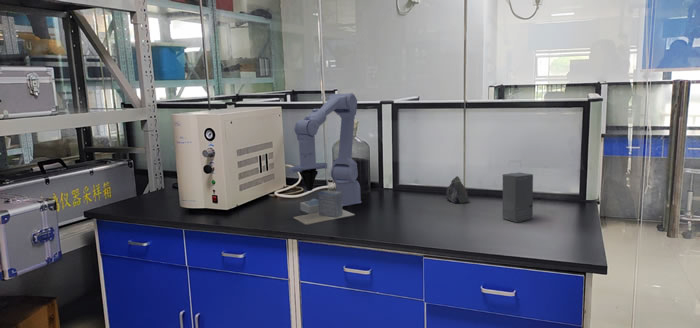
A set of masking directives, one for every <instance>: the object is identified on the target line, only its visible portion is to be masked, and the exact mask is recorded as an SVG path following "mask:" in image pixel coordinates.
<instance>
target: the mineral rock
mask: <svg viewBox="0 0 700 328" xmlns="http://www.w3.org/2000/svg"><path fill="white" fill-rule="evenodd" d="M445 195H446V198H447V199H448V200H449V201H451V202H452V203H454V204H466V203H468V202H469V197H468V195H469V194H468V192H467V189H466V187H465V185H464V184H463V182H462V181H461V179H460V176H455V177H454V178H453V179H452V180H451V181H450V184H449V185H448V187H447V188H446V193H445Z"/></svg>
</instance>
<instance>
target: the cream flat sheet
mask: <svg viewBox="0 0 700 328" xmlns="http://www.w3.org/2000/svg"><path fill="white" fill-rule="evenodd" d="M342 210H343V214H342V215H340V216H338V217H332V216H324V215H319V212H318V213H313V214H308V213H306V214H303V215H297V216H293V217H292V219H294V220H296V221H297V222H299V223H301V224H303V225H305V226H307V225H308V226H309V225H312V224H317V223H323V222H327V221H334V220H337V219H338V220H339V219H342V218H348V217H349V218H350V217H354V216H355V215H356V214H355V213H352V212H350V211H348V210H345V209H343V208H342Z"/></svg>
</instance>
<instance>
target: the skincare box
mask: <svg viewBox="0 0 700 328" xmlns="http://www.w3.org/2000/svg"><path fill="white" fill-rule="evenodd" d="M533 190H534V174H532V173H527V172H526V173H525V172H524V173H523V172H511V173H503V174H502V219H503V220H506V221H511V222H514V223H516V224H517V223H520V222H526V221H528V220H533V213H534V212H533V205H534V202H533V197H534V195H533V193H534V192H533Z"/></svg>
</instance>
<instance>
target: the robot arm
mask: <svg viewBox="0 0 700 328" xmlns="http://www.w3.org/2000/svg"><path fill="white" fill-rule="evenodd" d="M357 109H358V99H357V96H355V94H354V93H352V92H351V93H350V92H349V93H331V94H330V95H328V96H327V101H326V102H325V103H324V104H323V105H322V106H321V107H320V108H313V109H312V110H311V112H310V113H309V114H308V115H306V116H305V118H303V119H299V120H298V121H297V122H296V123H295V125H294V132H295V135H296V139H297V141H298V150H299V151H298V153H299V165H295V166H291V167H289V166H288V173H289V174H294V173H299V175H300V177H301V178H302V179H303V183H304V185H305V188H306V191H308V192H311V191H313V189H314V183H315V181H316V177H317V175H318V170H322V169H325V170H326V169H328V163H327V162H317V158H316V140H315V137H316V135H317V133H318V130H319V129H320V126H322V125H323V124H324V123H325V122H326V121H327V116H329V115H330V114H331V113H332V112H334V113H335V114H336V115H338V116H339V117H340V118H341V119H340V130H339V131H340V132H339V133H340V134H339V145H338V156H337V157H336V159H335V160H332V167H331V169H330V177H331V179H332V180H333V182H334V183H335V191H337V192H342V207H346V206H352V205H357V204H361V203H363V201H362V200H361V199H362V198H361V195H362V194H361V186H360V183H359V181H358V180H357V178H358V176H359V173H358V172H359V170H358V163H357V162H356V161H355V159H353V157H352V156H353V143H354V142H353V141H354V131H355V130H354V129H355V118H356V117H355V116H356V115H357V111H358V110H357Z"/></svg>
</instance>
